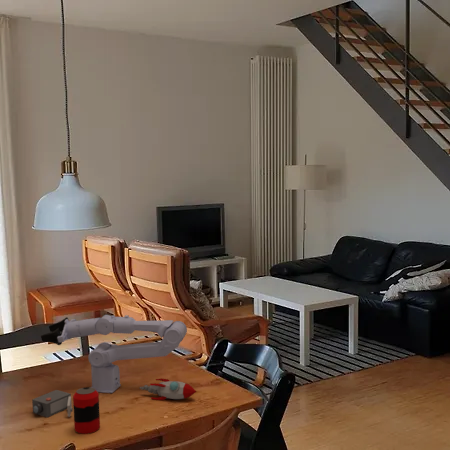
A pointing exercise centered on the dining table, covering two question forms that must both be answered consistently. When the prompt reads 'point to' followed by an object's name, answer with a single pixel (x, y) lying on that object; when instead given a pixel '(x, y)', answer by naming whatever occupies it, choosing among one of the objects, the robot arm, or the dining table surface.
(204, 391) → the dining table surface
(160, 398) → the toy
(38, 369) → the dining table surface
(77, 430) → the soda can
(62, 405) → the cam body
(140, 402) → the dining table surface
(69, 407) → the side door
